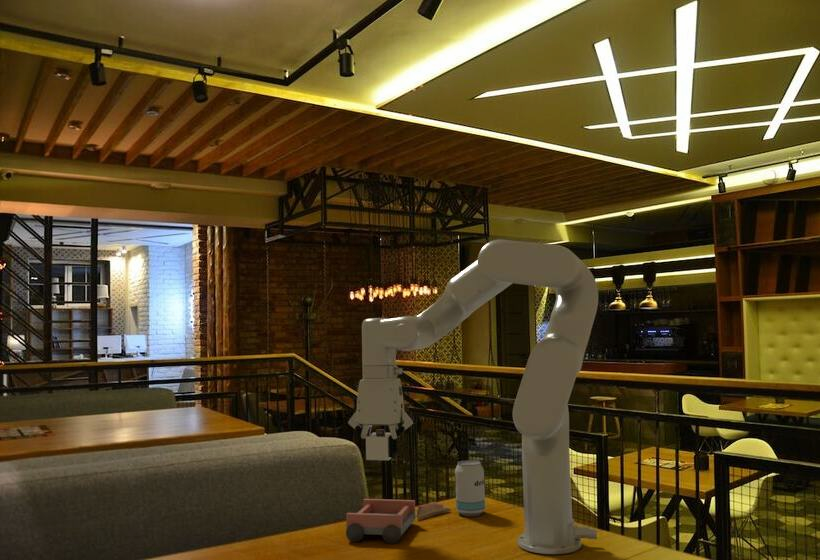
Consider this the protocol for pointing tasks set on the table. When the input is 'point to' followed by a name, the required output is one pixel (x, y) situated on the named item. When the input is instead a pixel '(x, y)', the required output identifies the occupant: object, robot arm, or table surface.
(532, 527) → the robot arm
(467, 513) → the beverage can
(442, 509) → the shard
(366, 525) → the chassis
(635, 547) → the table surface
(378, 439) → the cube with metal knob
